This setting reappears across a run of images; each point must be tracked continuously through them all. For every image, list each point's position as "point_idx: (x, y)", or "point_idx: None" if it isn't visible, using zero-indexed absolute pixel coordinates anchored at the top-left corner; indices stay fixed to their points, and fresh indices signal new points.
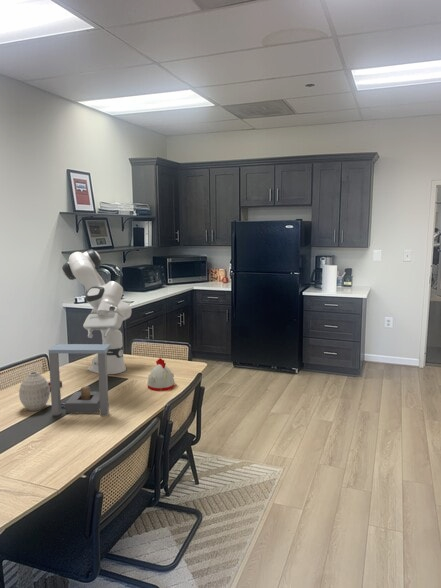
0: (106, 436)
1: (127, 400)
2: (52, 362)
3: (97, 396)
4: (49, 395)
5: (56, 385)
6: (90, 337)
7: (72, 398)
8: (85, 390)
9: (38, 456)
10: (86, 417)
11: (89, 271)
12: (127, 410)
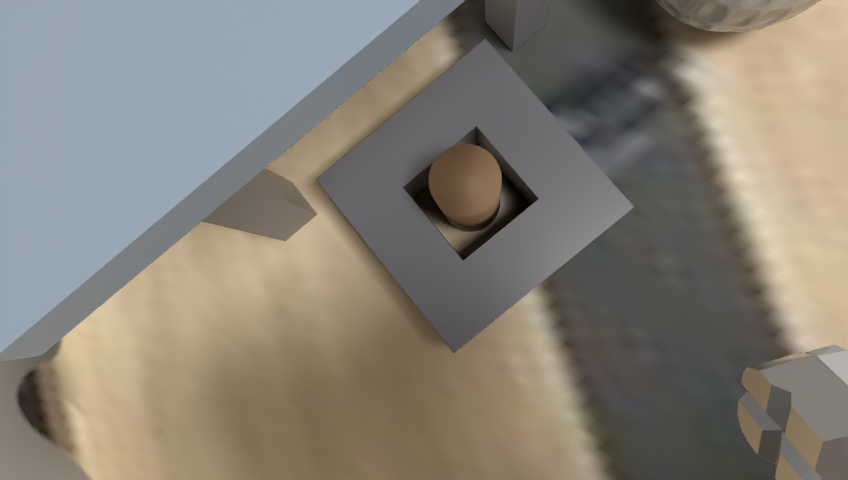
0: None
1: (346, 446)
2: None
3: (416, 257)
4: (672, 6)
5: None
6: (753, 390)
7: (524, 117)
8: (434, 161)
9: None
10: (332, 114)
11: None
12: (222, 336)
